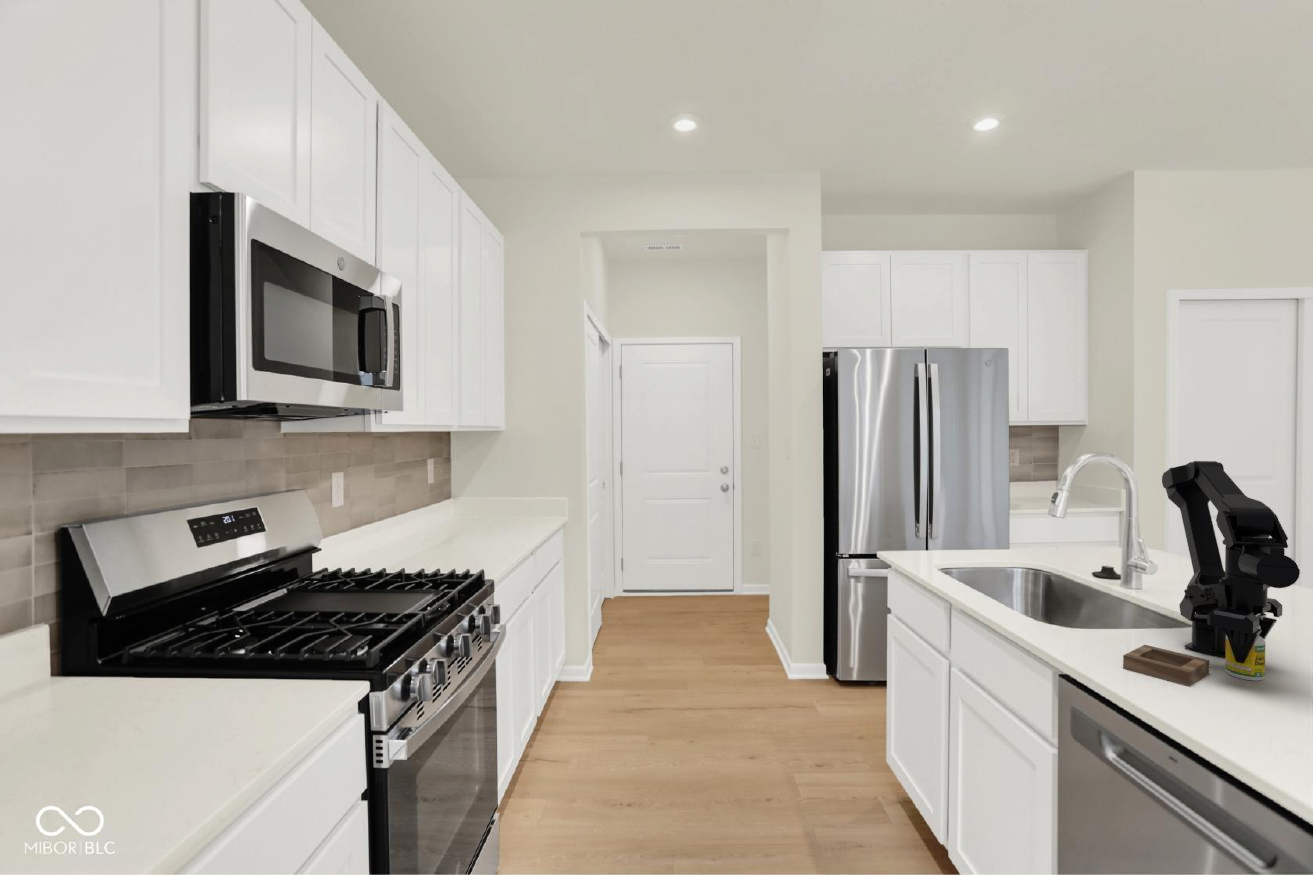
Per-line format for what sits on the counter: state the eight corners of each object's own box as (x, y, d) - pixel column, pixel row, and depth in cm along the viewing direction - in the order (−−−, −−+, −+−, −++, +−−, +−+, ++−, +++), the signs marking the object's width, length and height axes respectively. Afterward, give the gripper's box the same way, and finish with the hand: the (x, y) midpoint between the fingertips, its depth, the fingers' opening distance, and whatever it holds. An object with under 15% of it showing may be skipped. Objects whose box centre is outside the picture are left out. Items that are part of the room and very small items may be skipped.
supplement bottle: (1230, 667, 120) (1231, 617, 120) (1269, 676, 116) (1269, 624, 116) (1220, 674, 118) (1221, 622, 117) (1259, 683, 113) (1260, 630, 113)
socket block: (1144, 657, 126) (1144, 644, 126) (1209, 673, 118) (1209, 659, 118) (1123, 668, 121) (1123, 655, 121) (1189, 686, 112) (1189, 672, 112)
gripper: (1207, 560, 128) (1206, 636, 129) (1172, 573, 118) (1171, 656, 118) (1283, 570, 119) (1282, 653, 119) (1252, 585, 109) (1251, 676, 109)
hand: (1244, 659), depth 117 cm, fingers closed on supplement bottle, 5 cm apart
